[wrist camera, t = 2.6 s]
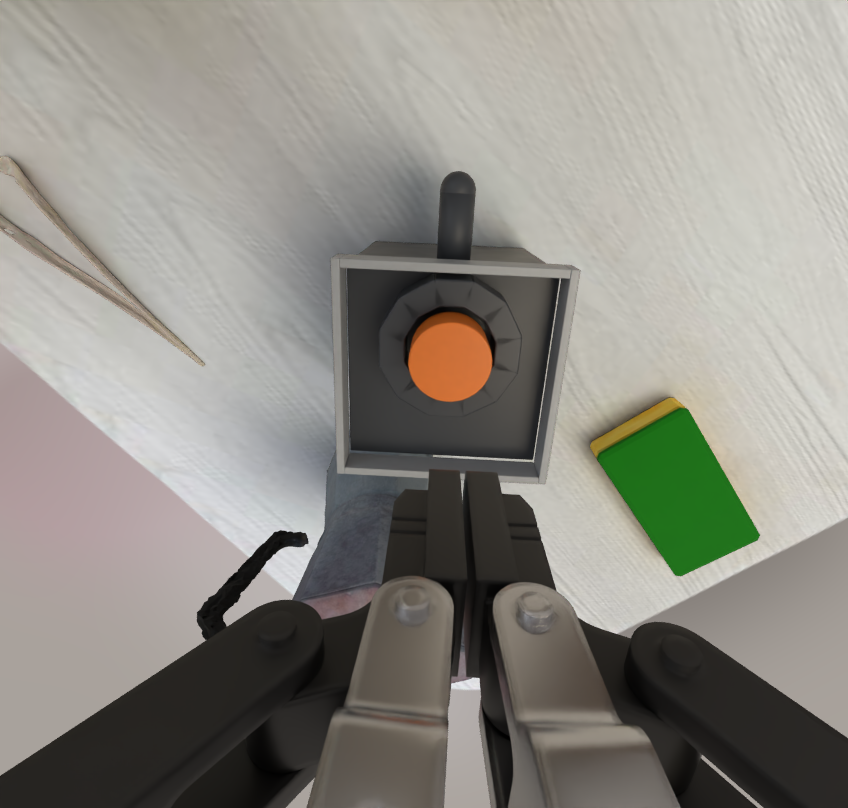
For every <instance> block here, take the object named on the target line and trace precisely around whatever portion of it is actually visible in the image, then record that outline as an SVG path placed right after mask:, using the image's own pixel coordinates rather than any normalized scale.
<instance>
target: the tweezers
mask: <svg viewBox="0 0 848 808" xmlns="http://www.w3.org/2000/svg"><path fill="white" fill-rule="evenodd" d="M0 171H1V172H2V173H4V174H6V175H11V176H13V177H15V178H16V180H17V181H16V183H17V184H18V185H19V186H20V187H21V188H22V189H23V190H24V192H25V193H26V194H27V195H28V197H29V198H30V199H31V200H32V201H33V202H34V204H35V205H36V206H37V207H38V208H39V209H40V210H41V211H42V212H43V214H44V215H45V216H46V217H47V218H48V219H49V220H50V221H51V222H52V223H53V224H54V225H55V226H56V227H57V228H58V229H59V230H60V231H61V232H62V233H63V234H64V235H65V237H66V238H67V239H68V240H69V241H70V242H71V243H72V244H73V245H74V246H75V247H76V248H77V249H78V250H79V251H80V252H81V253H82V254H83V255H84V256H85V257H86V258H87V259H88V260H89V261H90V263H91V264H92V265H93V266H94V267H95V268H96V269H97V270H98V271H99V272H100V273H101V274H102V275H103V276H104V277H105V278H106V279H107V280H108V281H109V282H110V283H112V284H113V285H114V286H115V287H116V288H117V289H118V290H119V291H120V292H121V293H122V294H124V296H125V297H126V298H128V299H129V300H130V301H131V302H132V303H133V304H134V305H135V306H136V307H138V308H139V309H140V310H139V309H137V308H135V307H134V306H133V305H132V304H131V303H130V302H128V301H127V300H126V299H124V298H123V297H121V296H120V295H119V294H117V293H116V292H114V291H113V290H111V289H110V288H108V287H107V286H105V285H103V284H102V283H100V282H99V281H97V280H95V279H94V278H92V277H90V276H89V275H87V274H85V273H84V272H82V271H81V270H79V269H77V268H76V267H74V266H73V265H71V264H70V263H68V262H67V261H65V260H64V259H62V258H61V257H59V256H58V255H56V254H55V253H53V252H52V251H50V250H49V249H48V248H46V247H45V246H44V245H43V244H41V243H40V242H39V241H37V240H36V239H35V238H33V237H31V236H30V235H28V234H26V233H25V232H23V231H21V230H20V229H18V228H17V227H16V226H14V225H13V224H12V223H10V222H9V221H8V220H6V219H5V218H4V217H2V216H1V215H0V231H2V232H3V233H5V234H6V235H7V236H9V237H10V238H11V239H13V240H14V241H15V242H17V243H18V244H20V245H21V246H22V247H23V248H25V249H26V250H28V251H29V252H31V253H32V254H34V255H35V256H37V257H39V258H40V259H42V260H44V261H45V262H47V263H49V264H50V265H52V266H53V267H55V268H57V269H58V270H60V271H62V272H63V273H65V274H67V275H68V276H70V277H71V278H73V279H75V280H76V281H78V282H79V283H81V284H83V285H84V286H86V287H87V288H89V289H91V290H92V291H94V292H96V293H97V294H99V295H101V296H102V297H104V298H105V299H107V300H108V301H109V302H111V303H112V304H114V305H115V306H117V307H118V308H120V309H122V310H123V311H125V312H126V313H128V314H130V315H131V316H132V317H134V318H135V319H137V320H138V321H139V322H141V323H142V324H144V325H146V326H147V327H149V328H150V329H152V330H153V331H154V332H156V333H157V334H159V335H160V336H162V337H163V338H164V339H166V340H167V341H169V342H170V343H171V344H173V345H174V346H175V347H177V348H178V349H180V350H181V351H182V352H184V353H185V354H186V355H188V356H189V357H190V358H192V359H193V360H194V361H195V362H197V363H198V364H199V365H201V366H204V365H205V364H204V363H203V362H202V361H201V360H200V359H199V358H198V357H197V356H196V355H195V354H194V353H193V352H192V351H191V350H190V349H189V348H188V347H187V346H186V345H184V344H183V343H182V342H181V341H180V340H179V339H178V338H177V337H176V336H175V335H174V334H172V333H171V332H170V331H169V330H168V329H167V328H166V327H165V326H164V325H163V324H162V323H161V322H159V321H158V320H157V319H156V318H155V317H154V316H153V315H152V314H151V313H150V312H149V311H148V310H147V309H146V308H145V307H144V306H143V305H142V304H141V303H140V302H139V301H138V300H137V299H135V298H134V297H133V296H132V295H131V293H130V292H129V291H128V290H127V289H126V288H125V287H124V286H123V285H122V284H121V283H120V282H119V281H118V280H117V279H116V278H115V277H114V276H113V275H112V274H111V273H110V272H109V271H108V270H107V269H106V268H105V267H104V266H103V265H102V263H101V262H100V261H99V260H98V259H97V258H96V257H95V256H94V255H93V254H92V253H91V252H90V251H89V250H88V249H87V248H86V247H85V246H84V245H83V243H82V242H81V241H80V240H79V239H78V238H77V237H76V236H75V235H74V234H73V233H72V232H71V231H70V230H69V229H68V227H67V226H66V225H65V224H64V223H63V221H62V220H61V219H60V217H59V216H58V215H57V214H56V212H55V211H54V210H53V209H52V208H51V207H50V205H49V204H48V203H47V202H46V201H45V200H44V199H43V198H42V197H41V195H40V194H39V193H38V191H37V190H36V189H35V188H34V186H33V185H32V184H31V183H30V181H29V180H28V179H27V178H26V176H25V175H24V174H23V173H22V171H21V170H20V168H19V167H18V166H17V165H16V163H15V162H14V161H13V160H12V159H10V158H9V157H7V156H2V157H0ZM2 228H3V229H2ZM4 229H9V230H11V231H12V232H14V233H15V234H9V233H8V232H6V231H5V230H4Z"/></svg>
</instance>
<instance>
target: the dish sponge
mask: <svg viewBox="0 0 848 808" xmlns="http://www.w3.org/2000/svg"><path fill="white" fill-rule="evenodd" d="M590 448H591V450H592V451H593V453H594V455H595V457H596V458H597V460H598V462H599V463H600V465H601V466H602V468H603V469H604V470H605V472H606V473H607V475H608V476H609V478H610V479H611V481H612V482H613V484H614V485H615V487H616V488H617V490H618V491H619V493H620V494H621V496H622V497H623V499H624V500H625V502H626V503H627V505H628V506H629V508H630V509H631V511H632V512H633V513H634V515H635V516H636V518H637V519H638V521H639V522H640V524H641V525H642V527H643V528H644V530H645V531H646V533H647V534H648V536H649V537H650V539H651V540H652V542H653V543H654V545H655V546H656V548H657V549H658V551H659V552H660V554H661V555H662V557H663V558H664V559H665V561H666V562H667V564H668V565H669V567H670V568H671V570H672V571H673V573H674V574H675V575H676V576H682V575H685V574H687V573H689V572H691V571H693V570H695V569H697V568H699V567H702V566H704V565H706V564H708V563H710V562H712V561H714V560H716V559H719V558H721V557H723V556H725V555H727V554H729V553H731V552H733V551H736V550H738V549H740V548H742V547H744V546H746V545H748V544H750V543H753V542H755V541H757V540H758V538H759V536H760V534H759V533H758V531H757V529H756V527H755V526H754V524H753V522H752V520H751V519H750V517H749V515H748V513H747V512H746V510H745V508H744V506H743V505H742V503H741V501H740V499H739V498H738V496H737V494H736V492H735V491H734V489H733V487H732V485H731V484H730V482H729V480H728V478H727V477H726V475H725V473H724V471H723V470H722V468H721V466H720V464H719V463H718V461H717V459H716V457H715V456H714V454H713V452H712V450H711V449H710V447H709V445H708V443H707V442H706V440H705V438H704V436H703V435H702V433H701V431H700V429H699V428H698V426H697V424H696V422H695V421H694V419H693V417H692V415H691V414H690V412H689V410H688V409H687V408H685V407H684V406H683V405H682V404H681V403H680V402H679V401H677V400H676V399H675V398H667V399H666V400H664V401H662V402H660V403H659V404H657V405H655V406H653V407H652V408H650V409H648V410H646V411H645V412H643V413H641V414H639V415H638V416H636V417H634V418H632V419H631V420H629V421H627V422H625V423H624V424H622V425H620V426H618V427H617V428H615V429H613V430H611V431H610V432H608V433H606V434H604V435H603V436H601V437H599V438H597V439H596V440H594V441H592V443H591V446H590Z"/></svg>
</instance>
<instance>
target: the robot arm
mask: <svg viewBox="0 0 848 808" xmlns="http://www.w3.org/2000/svg"><path fill="white" fill-rule="evenodd" d="M463 627H464V646H465V665H466V677H474V678H480V688H481V702H480V710H479V727H480V734H481V740H482V748H483V755H484V762H485V769H486V776H487V784H488V791H489V798H490V805H491V808H757V807H756V806H755V805H754V804H753V803H752V802H750V801H749V800H748V799H747V798H746V797H745V796H744V795H742V794H741V793H740V792H739V791H738V790H736V789H735V788H734V787H733V786H732V785H731V784H730V783H729V782H727V781H726V780H725V779H724V778H723V777H722V776H720V775H719V774H718V773H717V772H716V771H715V770H714V769H713V768H711V767H710V766H709V765H708V764H707V763H706V762H704V761H703V760H702V759H701V756H702V755H704V756H705V757H706V758H707V759H708V760H709V761H710V762H712V763H713V764H714V765H715V766H716V767H717V768H718V769H720V770H721V771H722V772H723V773H724V774H726V775H727V776H728V777H729V778H730V779H731V780H732V781H734V782H735V783H736V784H737V785H738V786H739V787H740V788H742V789H743V790H744V791H745V792H746V793H747V794H749V795H750V796H751V797H752V798H753V799H754V800H755V801H757V802H758V803H759V804H760V805H761V806H762V807H764V808H848V738H847V737H845V736H844V735H842V734H841V733H839V732H838V731H837V730H835V729H834V728H832V727H831V726H829V725H828V724H826V723H825V722H824V721H822V720H821V719H819V718H818V717H816V716H815V715H813V714H812V713H811V712H809V711H808V710H806V709H805V708H803V707H802V706H800V705H799V704H798V703H796V702H795V701H793V700H792V699H790V698H789V697H787V696H786V695H784V694H783V693H782V692H780V691H779V690H777V689H776V688H774V687H773V686H771V685H770V684H769V683H767V682H766V681H764V680H763V679H761V678H760V677H758V676H757V675H756V674H754V673H753V672H751V671H749V670H748V669H747V668H745V667H744V666H743V665H741V664H739V663H738V662H737V661H735V660H734V659H732V658H731V657H729V656H728V655H727V654H725V653H724V652H722V651H721V650H719V649H718V648H716V647H715V646H713V645H712V644H711V643H709V642H708V641H706V640H705V639H703V638H702V637H700V636H699V635H697V634H695V633H694V632H692V631H690V630H688V629H686V628H683V627H681V626H678V625H674V624H671V623H665V622H652V623H647V624H644V625H642V626H640V627H639V628H637V629H636V630H635V631H634V633H633V635H632V638H627V637H624V636H621V635H618V634H615V633H612V632H609V631H605V630H602V629H599V628H597V627H594V626H592V625H590V624H588V623H586V622H584V621H583V620H581V619H579V618H578V617H577V615H576V613H575V611H574V609H573V607H572V605H571V604H570V603H569V601H568V600H567V599H566V598H565V597H564V596H562V595H561V594H560V593H558V592H557V591H556V588H555V584H554V581H553V577H552V574H551V570H550V567H549V563H548V560H547V557H546V553H545V550H544V546H543V543H542V541H541V536H540V532H539V529H538V528H537V522H536V519H535V515H534V512H533V509H532V508H531V507H530V506H529V504H528V503H527V502H526V501H525V500H524V499H523V498H522V497H521V496H520V495H511V494H502V492H501V487H500V482H499V478H498V473H497V472H482V471H466V472H465V478H464V489H463V500H462V493H461V479H460V470H442V469H429V478H428V490H415V489H405V490H404V491H403V492H402V493H401V494H400V496H399V497H398V498H397V499H396V500H395V501H394V506H393V513H392V520H391V526H390V533H389V539H388V546H387V553H386V559H385V566H384V573H383V579H382V584H381V587H380V588H379V589H378V590H377V591H376V593H375V594H374V596H373V598H372V600H371V601H370V602H369V603H368V604H366V605H365V606H364V607H362V608H360V609H358V610H356V611H354V612H351V613H348V614H344V615H340V616H336V617H331V618H326V619H321V617H320V615H319V613H318V612H317V611H316V610H315V609H314V608H313V607H311V606H310V605H308V604H306V603H303V602H300V601H296V600H279V601H273V602H270V603H267V604H264V605H262V606H259V607H257V608H256V609H254V610H252V611H251V612H249V613H247V614H246V615H244V616H243V617H241V618H240V619H238V620H237V621H235V622H234V623H232V624H231V625H229V626H228V627H226V628H225V629H223V630H222V631H220V632H219V633H217V634H215V635H214V636H212V637H211V638H209V639H208V640H206V641H205V642H203V643H202V644H201V645H199V646H197V647H196V648H194V649H193V650H191V651H190V652H188V653H187V654H185V655H184V656H182V657H180V658H179V659H177V660H176V661H174V662H173V663H171V664H170V665H168V666H167V667H165V668H164V669H162V670H161V671H159V672H158V673H156V674H155V675H153V676H152V677H150V678H148V679H147V680H146V681H144V682H142V683H141V684H139V685H138V686H136V687H135V688H133V689H132V690H130V691H129V692H127V693H126V694H124V695H123V696H121V697H120V698H118V699H117V700H115V701H113V702H112V703H110V704H109V705H107V706H106V707H104V708H103V709H101V710H100V711H98V712H97V713H95V714H94V715H92V716H91V717H89V718H88V719H86V720H85V721H83V722H82V723H80V724H78V725H77V726H75V727H74V728H72V729H71V730H69V731H68V732H66V733H65V734H63V735H62V736H60V737H59V738H57V739H56V740H54V741H53V742H51V743H50V744H48V745H46V746H45V747H43V748H42V749H40V750H39V751H37V752H36V753H34V754H33V755H31V756H30V757H28V758H27V759H25V760H24V761H22V762H21V763H19V764H18V765H16V766H15V767H13V768H12V769H10V770H8V771H7V772H5V773H4V774H2V775H1V776H0V808H286V807H287V806H288V804H289V803H290V802H291V801H292V800H293V799H294V798H295V797H296V796H297V795H298V794H299V793H300V792H301V791H302V790H303V789H304V788H305V787H306V786H307V785H308V784H309V783H310V782H311V781H312V780H313V779H314V778H315V780H314V783H313V787H312V790H311V794H310V797H309V801H308V805H307V808H444V796H445V779H446V778H445V777H446V761H447V760H446V759H447V742H448V707H449V700H450V690H451V679H452V676H453V677H458V670H459V660H460V650H461V640H462V629H463Z"/></svg>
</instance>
